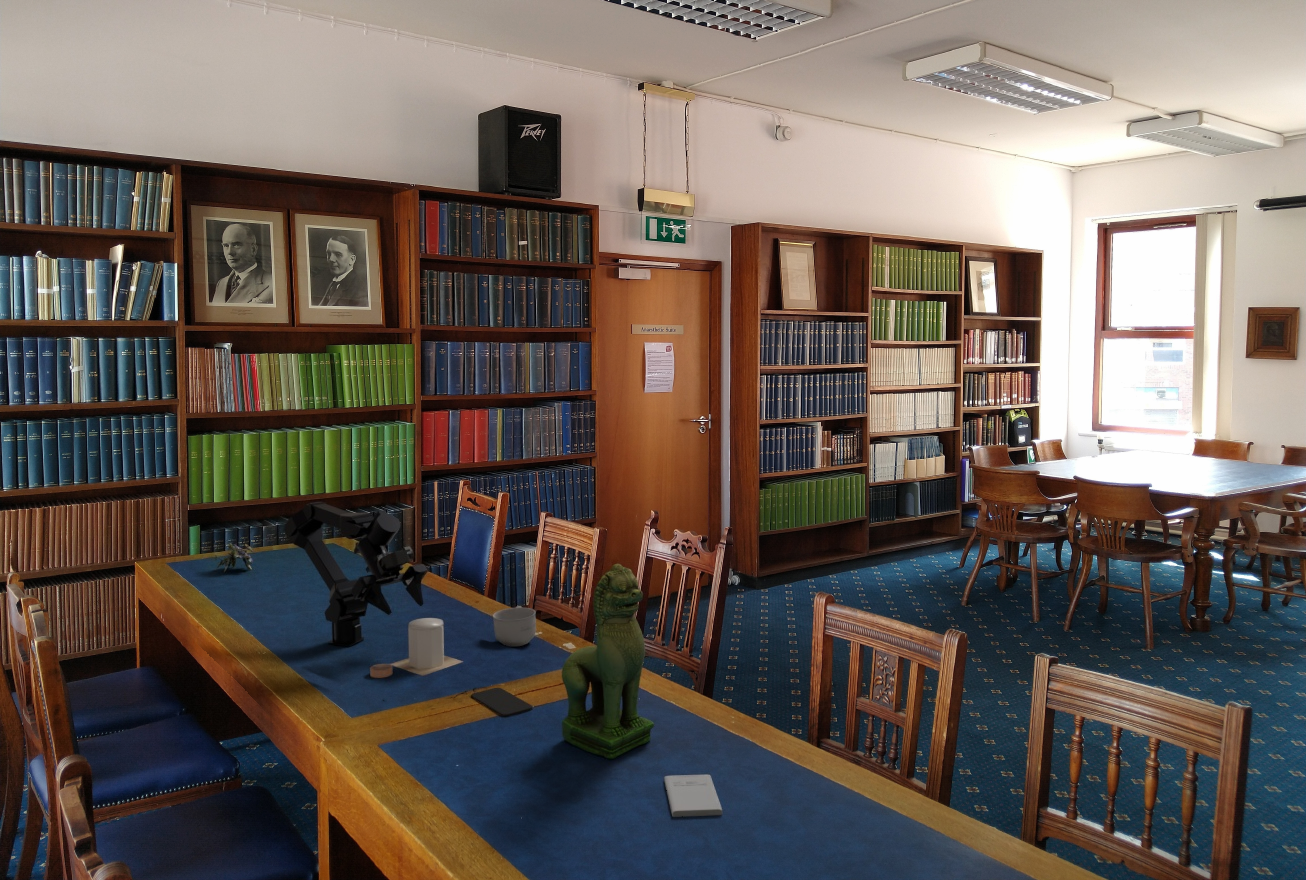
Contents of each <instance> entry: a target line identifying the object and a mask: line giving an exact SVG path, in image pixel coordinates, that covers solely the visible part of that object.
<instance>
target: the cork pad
mask: <svg viewBox="0 0 1306 880" xmlns="http://www.w3.org/2000/svg"><path fill="white" fill-rule="evenodd" d="M461 663H464V661H463V660H459V659H457V658H453V657H451V656H447V655H444V661H443V665H440V666H437V667H434V668H425V669H417V668H414V667H411V666H409V657H408V658H405V659H401V660H398V661H395V662H391V663H389V664H390V665H392V667H395V668H398V669H402V670H404V671H408V672H410V673H413V674H415V675H416V674H417V675H419V676H422V677H424V676H426V675H429V674H430V675H431V674H432V673H435V672H438V671H441V670H443V669H446V668H449V667H452V666H455V665H458V664H459V665H460V664H461Z"/></svg>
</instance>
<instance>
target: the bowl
mask: <svg viewBox="0 0 1306 880" xmlns="http://www.w3.org/2000/svg"><path fill="white" fill-rule="evenodd" d="M390 664H391V663H378V664H374V665H371V667H370V668H369V669H370V670H369V672H370V674H369V675H370V677H371V678H375V679H383V678H388V677H390V676H392V675H393V666H392V665H390Z"/></svg>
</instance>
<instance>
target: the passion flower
mask: <svg viewBox="0 0 1306 880" xmlns="http://www.w3.org/2000/svg"><path fill="white" fill-rule="evenodd" d="M244 547H246V549H244V550H243V548H241V547H239V546H238V545H236V544H232V543H231V542H229V543H228V546H227V548H228V549H229V550H230V553H229V552H228V554H227V555H228V556H227V557H224V558H220V557H218V555H217V554H214V561H217V559H218V560H220V562H219V563H218V565H217V567H216V568H219V567H221V565H222V566H224V571H223V573H226V571H227V569H228V568H232V569H233V568H234V567H236V563H237V559H240V560H241V559H242V561H243V563H244V566H245V567H246V569H247V570H248V571H252V570H253V569H252V566H251V565H252V564H253V561H254V559H253V558H252V557H251V555H250V554H248V551H251V553H254V549H253V548H252V547H251V546H249V544H247V543H245V546H244Z"/></svg>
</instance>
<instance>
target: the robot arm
mask: <svg viewBox="0 0 1306 880" xmlns="http://www.w3.org/2000/svg"><path fill="white" fill-rule="evenodd" d="M304 505H305V504H304ZM284 524H285V525H284V530H283V531H284V534H285V536H286V537H287V538H288V539H289V541H290V542H291V543H292V544H293V545H294V546H297V547H299V549H300V548H301V549H303V551H305V553H306V554H307V556H308V558H309V559H310V561H311V562H312V564H313V565H314V568H315V569H316V570H317V572H318V574H319V576H320V577H321V578H322V580H323V582H324V583H325V585H326V586H327V589H328V590H329V598H328V602H329V605H328V606H327V608H326V609H325V610H324V617H325V621H327V622H330V623H331V635H332V636H331V640H330V641H328V642H327V643H328V645H333V646H340V647H341V646H343V647H351V646H353V645H355V644H357V643H359V642H362V641H363V640H365V636H362V624H361V618H362V617H366V614H367V610H368V604H370V605H371V606H373V607H375V608H377V609H378V610H380V611H381V612H383V613H385V614H386V615H387V616H390V615H392V612H393V611H392V609H391V607H390V605H389V603H388V602H387V599H386V598H385V596H384V594H383V592H382V587H385V586H388V585H393V584H398V583H402V584H403V586H405V591H407V593H408V594H409V595H410V597H411V598H412V600H414V601H415V603H416V604H417V605H418V606H419V607H423V606H424V598H423V590H422V580H423V579H424V578H425V576H426V575H427V573H428V572H429V570H428V569H427V567H426V565H425V564H424V563H416V564H413V565H409V566H408V568H406V570H405V572H402V573H400V571H402V570H403V569H404V568H405V567H404V565H406V564H410V563H411V560H412V559H415V553H414V551H413V549H412V547H411V546H409V545H408V546H403V548H401V549H400V550H397V551H393V552H392V551H391V552H388V550H387V548H386V546H388V545H389V544H390V543H391V541H392V540H393V539H394V537H395V536H396V534H397V533H398V531H400V529H401V522H400V520H399V519H398V518H397V517H395V516H394V515H392V514H391V513H387V512H386V510H378V511H377V512H376V514H375V516H374V515H373V514H371V513H370V512H349V511H346V510H344V509H342V508H341V509H340V508H338V507H335V506H333V505H329V504H327V503H326V502H324V501H316V502H309V503H307V504H306V505H305V506H303V508H302V509H300V510H299V511H297V512H296V513H294V514H293V515H291V516H290V518H289V519H288V520H287V521H286V523H284ZM325 524H326V525H328V526H331V527H334V528H336V529H338V530H339V533H340V535H342V536H343V537H345V538H346V539H348V540H355V539H360V540H359V541H358V542H355V546H354V549H353V555H359V554H360V556H361V557H362V559H363V560H364V562H365V564H366V566H367V567H366V568H365V571H366V572H367V573H371V574H366V575H364V576H359V578H358V579H351V580H349V579H348V578H347V576H346V574H345V573H344V572H343V570H342V568H341V567H340V566H339V564H338V562H337V561H336V559H335V558H334V556H333V555H332V553H331V551H330V550H329V549H328V546H327V544H326V543H325V542H324V540H323V538H322V537H323V526H324V525H325Z"/></svg>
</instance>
